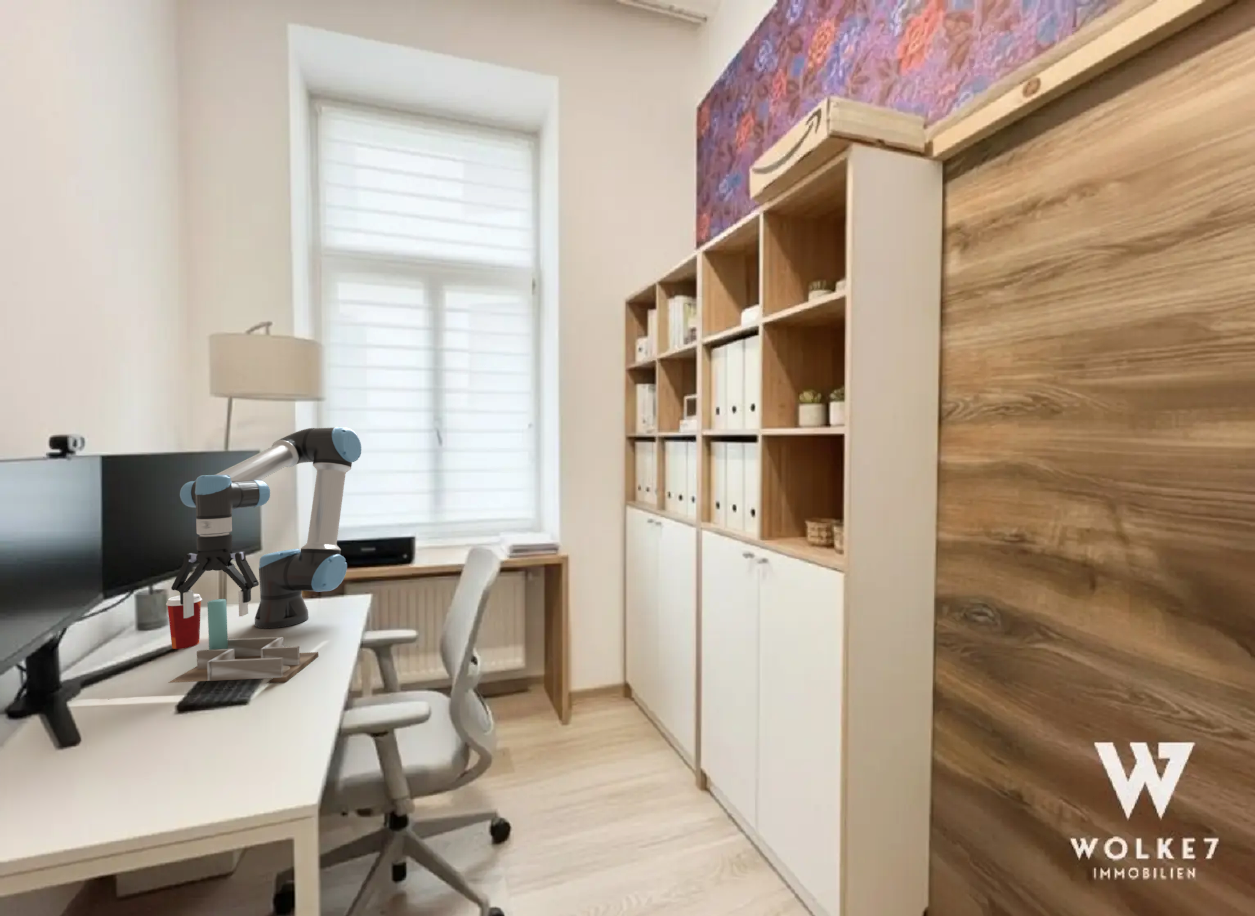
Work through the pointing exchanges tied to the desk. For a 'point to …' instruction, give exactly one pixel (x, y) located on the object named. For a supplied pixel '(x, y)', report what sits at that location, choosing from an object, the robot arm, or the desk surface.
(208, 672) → the slot board
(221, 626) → the teal dowel
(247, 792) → the desk surface
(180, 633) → the coffee cup
